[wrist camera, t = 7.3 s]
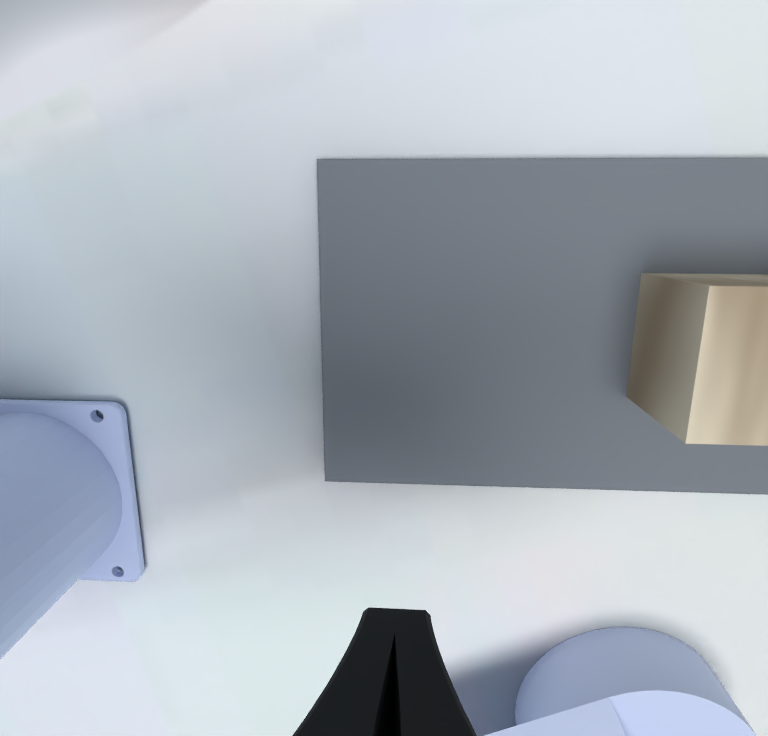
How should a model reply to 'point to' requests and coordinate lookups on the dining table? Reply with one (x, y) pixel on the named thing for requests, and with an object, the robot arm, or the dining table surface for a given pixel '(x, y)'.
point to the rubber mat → (518, 316)
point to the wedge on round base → (624, 690)
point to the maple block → (703, 356)
